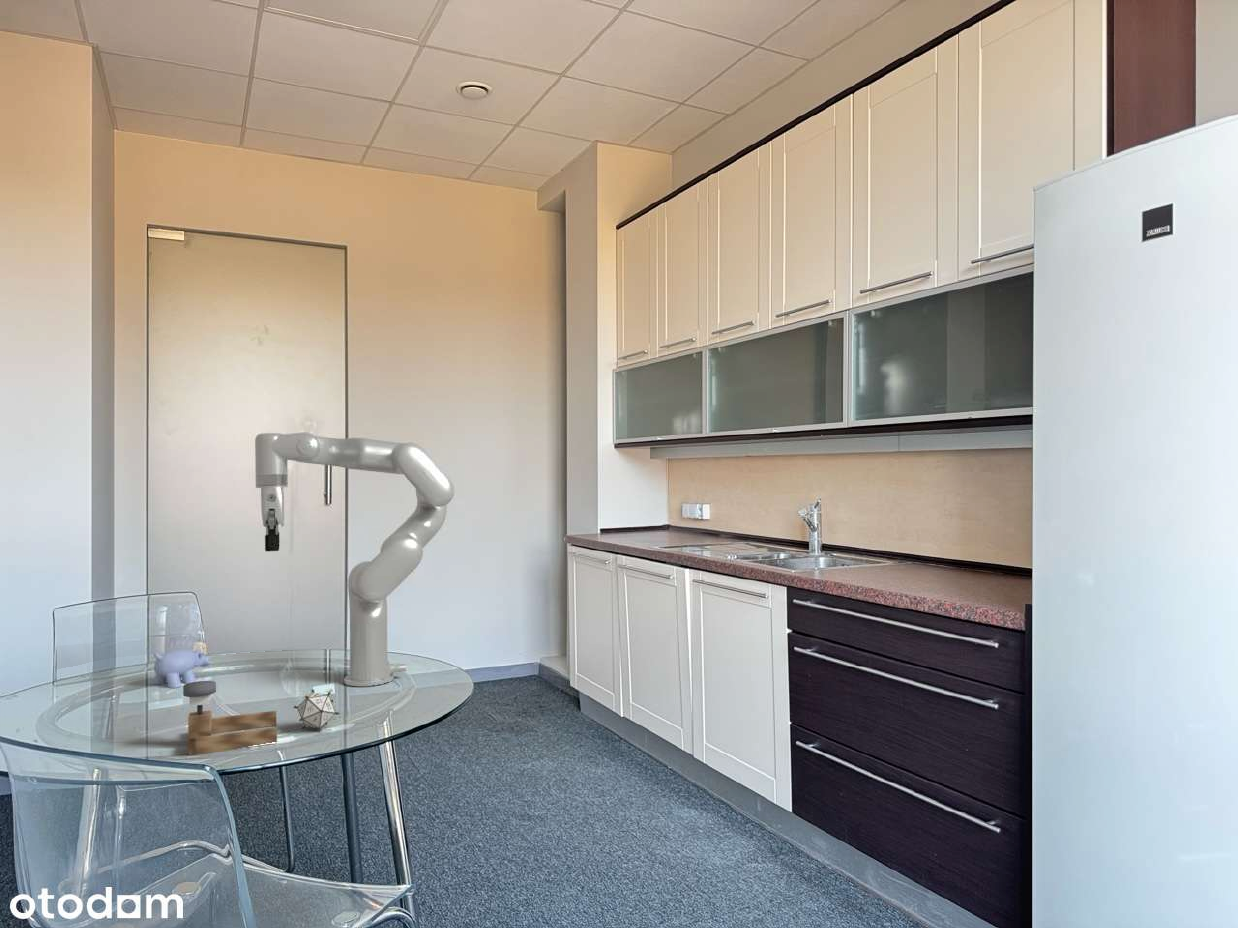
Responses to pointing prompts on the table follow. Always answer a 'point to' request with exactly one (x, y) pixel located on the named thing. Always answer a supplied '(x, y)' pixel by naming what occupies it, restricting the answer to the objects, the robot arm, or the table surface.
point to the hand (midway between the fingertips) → (272, 549)
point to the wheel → (199, 692)
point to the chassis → (205, 726)
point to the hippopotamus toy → (178, 667)
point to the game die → (316, 710)
